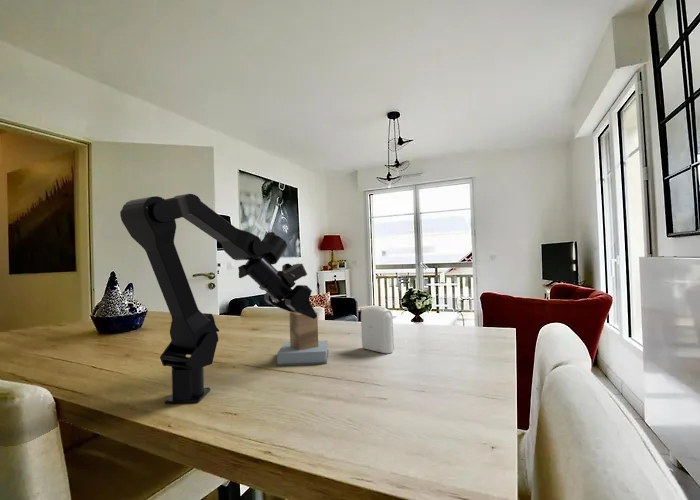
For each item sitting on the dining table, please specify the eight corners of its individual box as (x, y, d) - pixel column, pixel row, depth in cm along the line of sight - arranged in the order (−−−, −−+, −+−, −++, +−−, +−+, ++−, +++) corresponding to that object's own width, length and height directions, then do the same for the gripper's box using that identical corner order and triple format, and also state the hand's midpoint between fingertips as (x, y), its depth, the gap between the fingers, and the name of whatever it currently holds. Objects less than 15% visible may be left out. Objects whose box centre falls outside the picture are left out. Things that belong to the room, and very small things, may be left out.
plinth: (326, 363, 91) (326, 351, 91) (276, 365, 90) (276, 353, 90) (328, 350, 103) (328, 340, 103) (284, 352, 103) (284, 342, 103)
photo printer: (359, 348, 105) (358, 305, 105) (370, 345, 107) (369, 303, 108) (385, 355, 97) (383, 308, 97) (396, 352, 99) (394, 306, 100)
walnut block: (318, 346, 96) (317, 312, 96) (299, 350, 93) (298, 314, 93) (308, 343, 100) (307, 310, 101) (290, 346, 97) (289, 312, 98)
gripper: (303, 252, 87) (343, 294, 93) (273, 254, 103) (310, 290, 109) (272, 287, 83) (317, 329, 89) (246, 284, 98) (286, 320, 104)
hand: (307, 315), depth 98 cm, fingers open, 9 cm apart
